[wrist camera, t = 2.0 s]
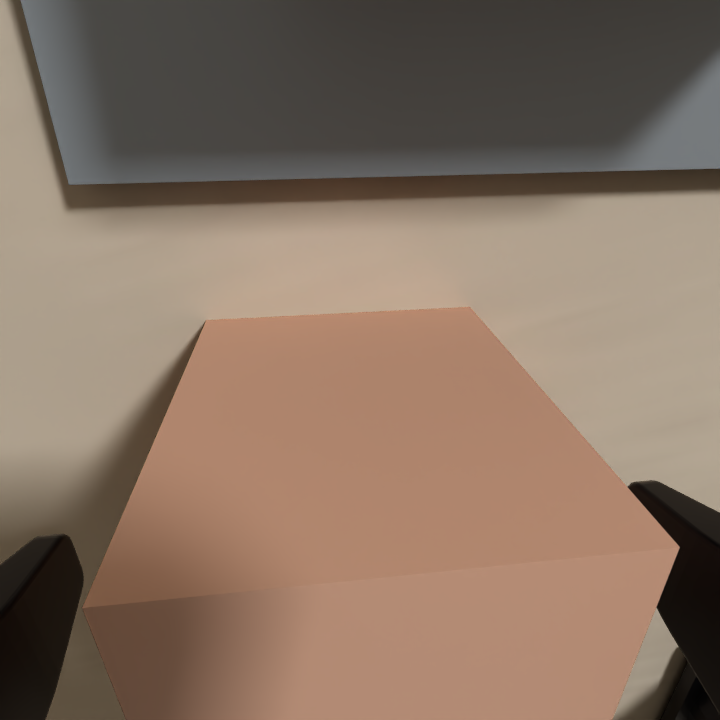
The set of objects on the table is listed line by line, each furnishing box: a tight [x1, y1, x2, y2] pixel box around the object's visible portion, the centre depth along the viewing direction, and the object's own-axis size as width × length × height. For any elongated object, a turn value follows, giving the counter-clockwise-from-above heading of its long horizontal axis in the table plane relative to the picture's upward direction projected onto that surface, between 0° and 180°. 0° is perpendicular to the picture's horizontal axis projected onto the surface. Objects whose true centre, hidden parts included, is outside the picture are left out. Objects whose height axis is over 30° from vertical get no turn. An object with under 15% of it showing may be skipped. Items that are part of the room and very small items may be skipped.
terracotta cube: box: [82, 307, 680, 720], centre depth 8 cm, size 5×5×6 cm
